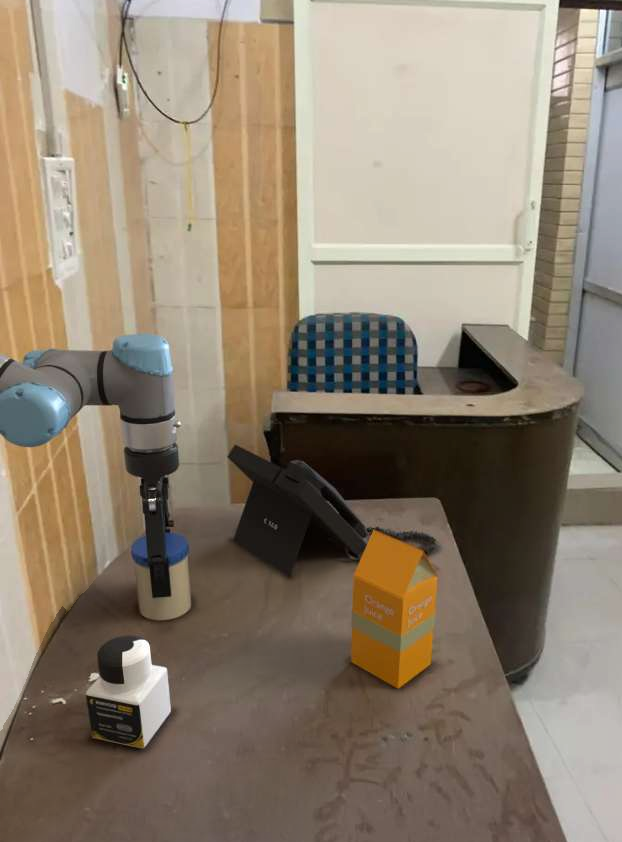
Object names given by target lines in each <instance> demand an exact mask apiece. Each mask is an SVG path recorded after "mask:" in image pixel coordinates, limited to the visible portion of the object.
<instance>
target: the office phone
mask: <svg viewBox="0 0 622 842" xmlns="http://www.w3.org/2000/svg"><path fill="white" fill-rule="evenodd" d="M227 459H228V460H229V461H231V463H232V464H233V465H235V466H236V467H237V469H239V471H241V472H242V473H243V475H245V476H246V477H247V478H248V479H249V480H250V481H251V482H252V483H251V487H250V489H249V493H248V495H247V498H246V502H245V505H244V507H243V510H242V513H241V515H240V519H239V521H238V525H237V528H236V530H235V534H234V535H233V538H232V540H233V541H234V542H236V543H237V544H239V545H240V546H241V547H243V548H244V549H246V550H248V551H249V552H251V553H252V554H254V555H255V556H257V557H258V558H260V559H261V560H263V561H264V562H266V563H267V564H269V565H271V566H272V567H274V568H275V569H276V570H278V571H279V572H281V573H282V574H284V576H287V577H288V578H290V577H291V574H292V572H293V569H294V566H295V563H296V561H297V558H298V555H299V552H300V549H301V547H302V544H303V541H304V538H305V535H306V532H307V530H308V528H309V529H311V530H313V531H314V532H315V533H317V534H320V535H321V536H323V537H325V538H326V539H328V540H330V541H332V542H333V543H334V544H337V545H338V546H339V547H341V548H343V549H344V550H345V554H346V555H347V557H348V558H349V560H354V561H360V560H361V557H362V555H363V553H364V550H365V548H366V546H367V544H368V542H366V541H365V538H367V537H371V534H372V532H373V529H374V530H376V531H379V532H381V533H384V534H386V535H388V536H391V537H393V538H395V539H398V540H405V541H406V539H407V540H409V539H410V540H411V539H413V540H415V541H416V540H417V539H419V540H420V541H422V540H423V542H426V545H419V546H415V547H416V548H419V549H421V550H423V551H424V553H425V554H426V553H427V554H429V553H431V552H433V551H434V550H436V547H437V539H436V538H435V536H432V535H430V534H429V533H424V532H423V531H418V530H416V531H414V530H410V531H399V532H398V531H397V532H396V530H392V529H388V528H384V527H380V526H375V527H372V526H369V527H367V526H366V525H365V523H364V522H363V521H362V520H361V518H359V516H358V515H357V513H356V512H355V511H354V510H353V509H352V508H351V506H350V505H349V504H348V503H347V501H346V500H345V499H344V498H343V496H342V495H341V494H340V493H339V491H338V490H337V489H336V488H335V487H334V486H333V485H332V484H330V483H329V482H328V481H327V480H326V479H325V478H324V477H322V476H321V475H320V474H319V473H318V472H317V471H315V470H314V469H313V468H312V467H310V465H308V464H307V463H306V462H305V461H304V460H303V461H302V460H300V459H294V460H291V461H289V462H288V464H287V467H286V468H282V467H281V466H279V465H277V464H275V463H273V462H271V461H269V460H267V459H265V458H263V457H261V456H260V455H258V454H256V453H253V452H251V451H249V450H247V449H245V448H244V447H241V446H239V445H237V444H234V445H233V447H232V448H231V450H230V452H229V453H228V455H227ZM349 552H351V553H352V554H353V555H355V556H357V557H355V556H353V555H351V554H349Z"/></svg>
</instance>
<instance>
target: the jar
mask: <svg viewBox="0 0 622 842" xmlns="http://www.w3.org/2000/svg"><path fill="white" fill-rule="evenodd" d="M133 565H134V566H133V567H134V576H135V584H136V585H135V586H136V593H137V602H138V611H139V613H140V614H141V616H143V617H144V618H146V619H148V620H153V621H169V620H174V619H176V618H179V617H181V616H183V615H185V614H187V612H188V611H190V609H191V607H192V595H191V594H192V593H191V581H190V580H191V579H190V567H189V554H188V555H187V556H186V557H185V558H184V559H183V560H181V561H180V562H177V563H175V564H172V565H169V573H170V585H171V597H159V598H152V588H151V578H150V568H149V567H148V566H143V565H140V564H138V563H136V562H135V561H134V560H133Z"/></svg>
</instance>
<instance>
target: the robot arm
mask: <svg viewBox="0 0 622 842" xmlns="http://www.w3.org/2000/svg"><path fill="white" fill-rule="evenodd" d="M85 406H101V407H103V406H108V407H109V406H118V409H119V421H120V422H119V423H120V430H121V431H120V432H121V441H122V444H123V446H124V447H123V456H124V465H125V470H126V472H127V473H128V474H129V475H131V476H133V477H136V478H140V485H139V496H140V497H141V505H142V506H141V507H142V514H143V516H144V530H145V536H146V543H147V556H148V558H143V559H144V562H148V564H149V568H150V578H151V588H152V598H159V597H171V585H170V573H169V562H168V556H167V554H166V536H165V532H169V533H171V528H174V527H175V520H174V519H171V520H170V516H171V513H170V512H169V502H168V501H169V498H170V497H169V496H170V495H169V493H170V492H169V488H170V479H169V475H171V474H173V473H175V472H176V471H177V470H178V469H179V468H180V457H179V456H180V455H179V445H178V443H177V441H178V433H177V428H180V427H181V425H182V423H181V422H180V420H176V405H175V389H174V367H173V366H172V359H171V350H170V344H169V342H168V341H167V340H166V338H164V337H163V336H160V335H156V334H152V333H135V334H132V333H130V334H123V335H120V336H117V337H116V338H115V339H114V340H113V341H112V348H111V349H109V350H83V349H81V350H79V349H77V350H76V349H59V348H47V349H40V350H39V349H35V350H30V351H28V352H27V353H25V355H24V356H23V358H22V362H20V361H17V360H15V359H13V358H11V357H9V356H7V355H5V354H4V353H1V352H0V435H1V437H3V439H4V440H6V441H7V442H8V443H10V444H12V445H14V446H18V447H21V448H36V447H41V446H43V445H45V444H47V443H49V442H50V441H51V440H53V439H54V438H56V437H57V436H58V435H60V434H61V433H62V432H63V431H64V429H66V428H67V427H68V425H69V423H70V422H71V420H72V419H73V418H74V417H75V416H76V415H77V414H78V413H79V412H80V411H81V410H82V409H83V408H84V407H85Z"/></svg>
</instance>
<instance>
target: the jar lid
mask: <svg viewBox="0 0 622 842" xmlns="http://www.w3.org/2000/svg"><path fill="white" fill-rule="evenodd" d="M165 536H166V554H167V556H168V562H169V565H172V564H175V563H177V562H180V561H181V560H183V559H184V558H185V557H186V556H187V555H188V556H189V554H190V553H189V552H190V551H189V550H190V547H189V541H188V539H187V537H185V536H184V535H181V534H179V533H175V532H170V533H169V532H165ZM130 549H131V551H130V553H131V557H132V561H133V562H134V561H135V562H136V563H138V564H140V565H143V566H148V567H149V564H148V562H144V559H143V558H148V556H147V543H146V535H143V536H141V537H139V538H137V539H136V540H134V542H133V543H132V544H131V548H130Z"/></svg>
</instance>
